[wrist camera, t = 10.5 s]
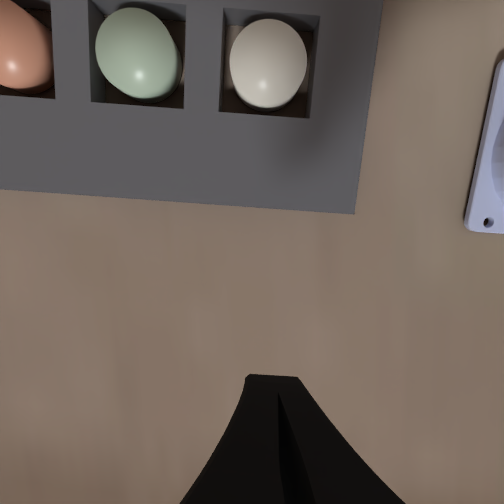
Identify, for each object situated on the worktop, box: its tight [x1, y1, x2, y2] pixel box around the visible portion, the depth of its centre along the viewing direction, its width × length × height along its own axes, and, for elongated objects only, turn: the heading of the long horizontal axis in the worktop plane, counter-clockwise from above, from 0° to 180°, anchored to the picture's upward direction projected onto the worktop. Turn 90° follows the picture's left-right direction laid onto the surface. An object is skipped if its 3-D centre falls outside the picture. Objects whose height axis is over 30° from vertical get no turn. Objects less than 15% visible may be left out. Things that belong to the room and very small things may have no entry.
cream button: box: [230, 19, 307, 112], centre depth 14 cm, size 3×3×2 cm
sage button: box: [95, 8, 182, 103], centre depth 14 cm, size 3×3×2 cm
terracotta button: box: [0, 0, 55, 94], centre depth 14 cm, size 3×3×2 cm
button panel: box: [0, 0, 383, 214], centre depth 15 cm, size 20×12×2 cm, turn 86°
